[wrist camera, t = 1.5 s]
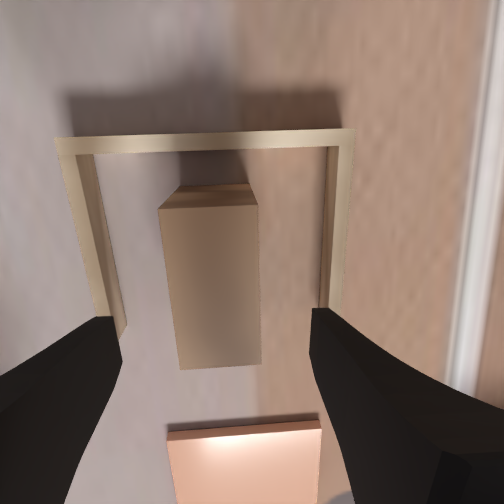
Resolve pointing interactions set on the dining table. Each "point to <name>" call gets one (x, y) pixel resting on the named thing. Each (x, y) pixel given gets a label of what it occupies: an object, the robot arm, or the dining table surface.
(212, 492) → the terracotta tile
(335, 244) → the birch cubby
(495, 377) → the dining table surface
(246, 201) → the walnut block
